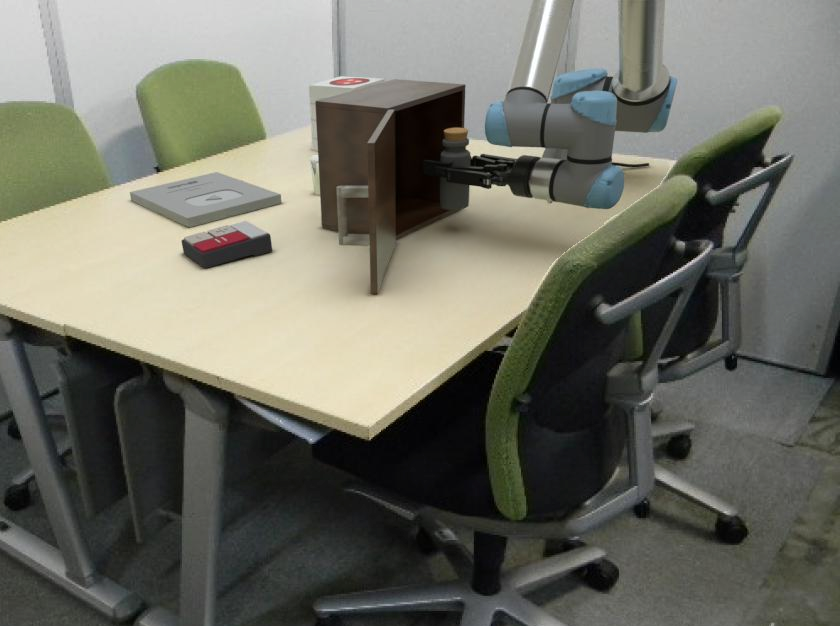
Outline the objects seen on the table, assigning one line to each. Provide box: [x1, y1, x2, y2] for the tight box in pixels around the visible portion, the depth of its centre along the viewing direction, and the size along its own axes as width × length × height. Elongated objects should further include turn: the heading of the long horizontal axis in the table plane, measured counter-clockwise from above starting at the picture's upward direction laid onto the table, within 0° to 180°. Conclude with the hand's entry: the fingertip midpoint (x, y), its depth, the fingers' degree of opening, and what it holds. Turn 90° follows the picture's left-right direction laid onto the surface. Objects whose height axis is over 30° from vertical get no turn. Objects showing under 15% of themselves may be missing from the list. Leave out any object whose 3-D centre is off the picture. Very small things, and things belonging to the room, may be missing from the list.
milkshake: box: [309, 154, 320, 196], centre depth 202 cm, size 5×5×10 cm
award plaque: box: [129, 171, 282, 228], centre depth 204 cm, size 25×30×2 cm
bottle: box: [440, 127, 471, 211], centre depth 169 cm, size 6×6×15 cm
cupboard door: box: [337, 110, 397, 295], centre depth 153 cm, size 7×26×26 cm, turn 168°
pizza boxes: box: [308, 75, 386, 152], centre depth 233 cm, size 19×30×18 cm, turn 31°
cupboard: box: [315, 78, 466, 241], centre depth 177 cm, size 18×26×26 cm
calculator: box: [181, 220, 273, 269], centre depth 170 cm, size 11×4×15 cm
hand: (433, 163), depth 172 cm, fingers closed on bottle, 6 cm apart
